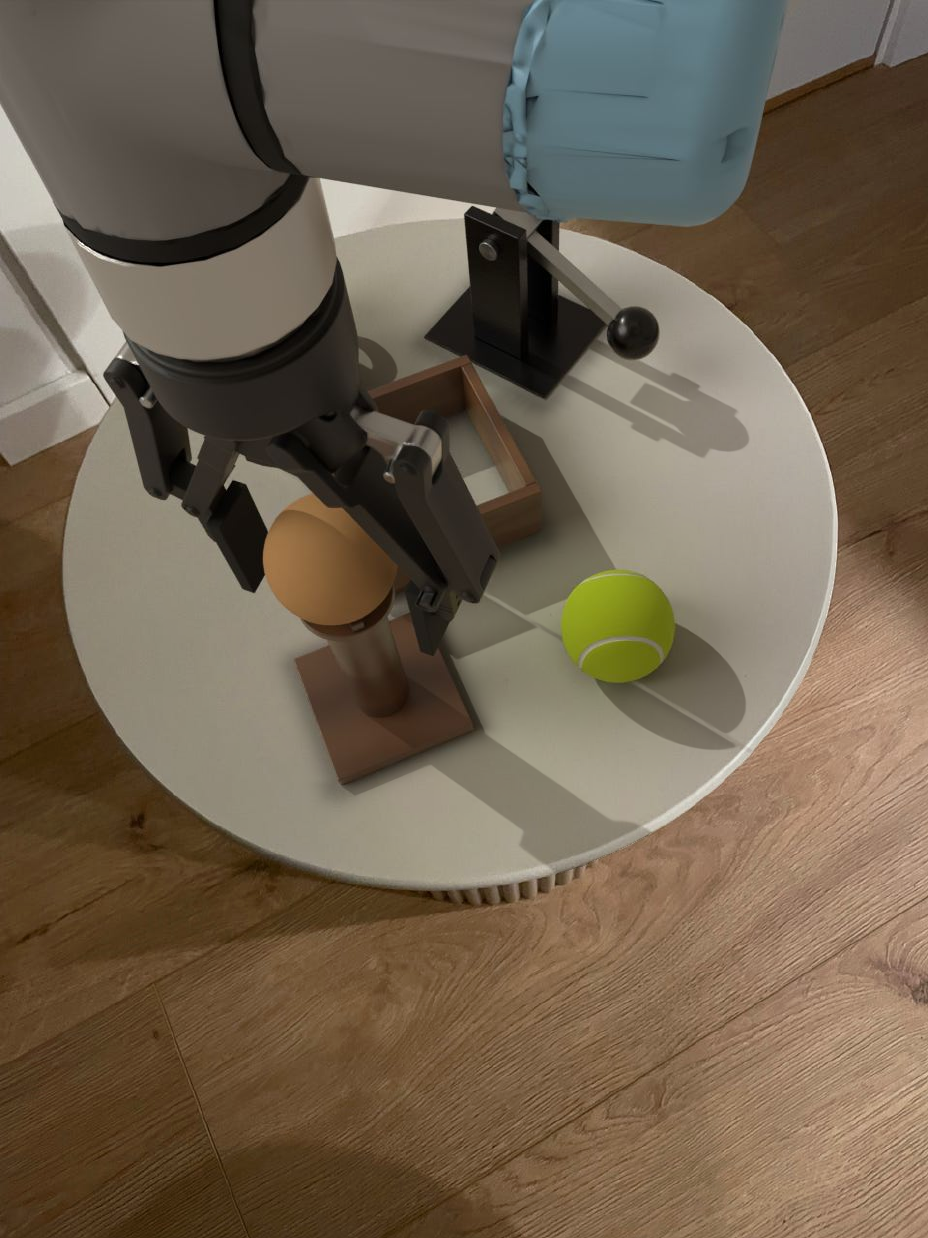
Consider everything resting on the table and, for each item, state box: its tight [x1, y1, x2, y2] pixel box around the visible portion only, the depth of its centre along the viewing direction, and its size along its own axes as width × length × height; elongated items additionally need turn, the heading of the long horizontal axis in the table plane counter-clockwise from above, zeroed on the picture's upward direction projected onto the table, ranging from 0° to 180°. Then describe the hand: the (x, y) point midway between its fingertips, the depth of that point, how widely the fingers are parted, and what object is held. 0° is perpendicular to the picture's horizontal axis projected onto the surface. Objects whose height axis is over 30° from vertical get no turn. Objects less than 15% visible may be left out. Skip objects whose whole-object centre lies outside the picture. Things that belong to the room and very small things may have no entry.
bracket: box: [423, 205, 607, 400], centre depth 72 cm, size 11×9×13 cm
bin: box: [332, 355, 543, 595], centre depth 69 cm, size 13×13×6 cm
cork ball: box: [263, 493, 397, 625], centre depth 48 cm, size 6×6×6 cm
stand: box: [293, 584, 475, 786], centre depth 58 cm, size 9×9×15 cm
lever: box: [491, 208, 661, 362], centre depth 68 cm, size 14×4×4 cm, turn 54°
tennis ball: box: [560, 569, 676, 684], centre depth 62 cm, size 7×7×7 cm
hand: (346, 600), depth 52 cm, fingers open, 10 cm apart
